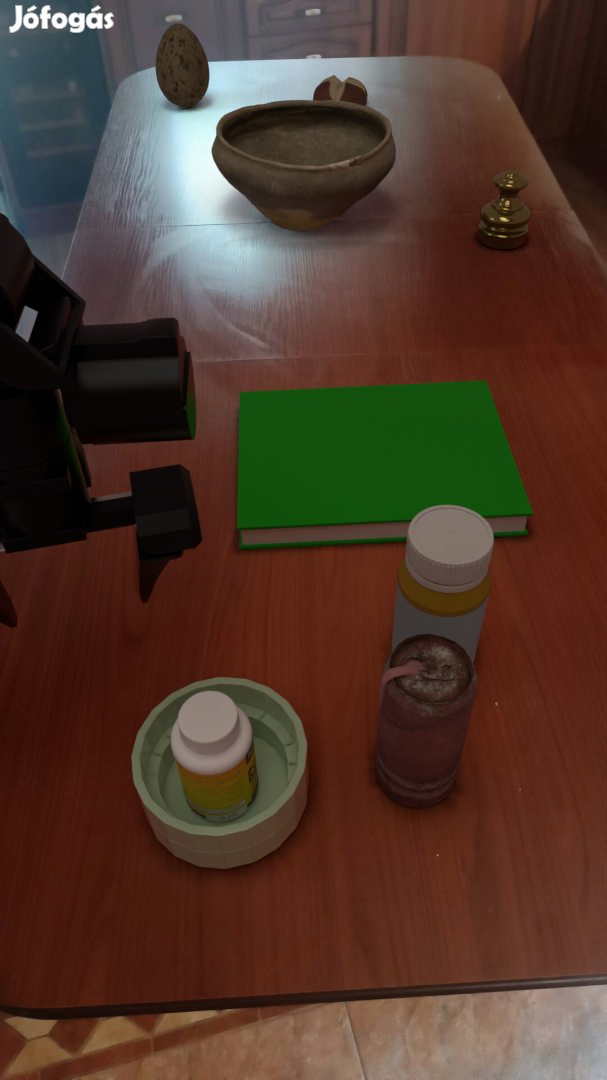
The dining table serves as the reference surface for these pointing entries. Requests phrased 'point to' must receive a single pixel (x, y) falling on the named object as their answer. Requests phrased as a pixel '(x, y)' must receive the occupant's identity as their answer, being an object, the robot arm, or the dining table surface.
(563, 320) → the dining table surface
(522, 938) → the dining table surface
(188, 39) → the decorative egg
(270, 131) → the bowl
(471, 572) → the bottle
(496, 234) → the brass turned ornament
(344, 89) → the bread
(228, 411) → the dining table surface
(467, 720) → the can
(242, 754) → the supplement bottle
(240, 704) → the ceramic bowl
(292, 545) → the book
